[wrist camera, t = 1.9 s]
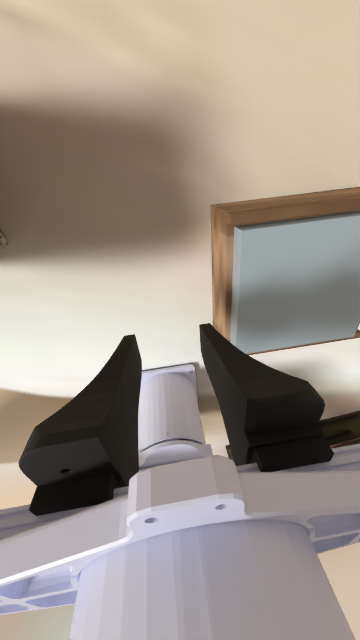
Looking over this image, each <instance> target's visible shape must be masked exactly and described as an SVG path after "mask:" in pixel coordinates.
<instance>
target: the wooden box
mask: <svg viewBox="0 0 360 640" xmlns="http://www.w3.org/2000/svg"><path fill="white" fill-rule="evenodd" d="M352 211H360V187H355V188H347V189H339V190H330V191H322V192H314V193H306V194H298V195H289V196H281V197H273V198H265V199H257V200H249V201H240V202H232V203H224V204H216V205H211V235H212V291H213V327H214V328H215V329H216V330H217V331H218V332H219V333H220V334H221V335H222V336H223V337H225V338H226V339H227V340H228V341H229V342H230V334H231V306H232V278H233V249H234V227H235V226H243V225H250V224H258V223H266V222H274V221H282V220H289V219H297V218H305V217H313V216H321V215H329V214H336V213H344V212H352ZM354 338H360V331H359V330H358V329H357V331H356V333H355V335H354V337H349V338H343V339H336V340H330V341H324V342H317V343H311V344H305V345H298V346H292V347H286V348H280V349H273V350H267V351H261V352H254V353H248V354H247V355H253V354H259V353H265V352H272V351H278V350H284V349H291V348H297V347H303V346H309V345H316V344H322V343H328V342H335V341H341V340H347V339H354Z"/></svg>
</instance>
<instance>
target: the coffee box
mask: <svg viewBox="0 0 360 640" xmlns="http://www.w3.org/2000/svg"><path fill="white" fill-rule="evenodd" d="M6 245H7V240H6V239H5V237H4V236H3V235H2V233H1V232H0V247H3V246H6Z"/></svg>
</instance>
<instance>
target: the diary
mask: <svg viewBox="0 0 360 640" xmlns="http://www.w3.org/2000/svg"><path fill="white" fill-rule="evenodd" d="M318 424H319V426H320V427H321V429H322V430H323V432H324V434H323V435H322V436H323V438H324V439H325V441H326V442H327V443H328V445H329V446H330V448H331V449H333V448H339V447H344V446H350V445H355V444H360V411H357V412H353V413H349V414H345V415H341V416H337V417H333V418H329V419H325V420H322V421H319V423H318ZM226 450H227V453H228V456H229V459H231V460H233V456H232V451H231V447H230V445H227V446H226ZM233 462H234V460H233Z"/></svg>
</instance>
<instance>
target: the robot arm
mask: <svg viewBox="0 0 360 640" xmlns="http://www.w3.org/2000/svg"><path fill="white" fill-rule="evenodd" d="M200 343H201V353H202V357H203V361H204V365H205V367H206V370H207V373H208V375H209V378H210V380H211V383H212V386H213V388H214V391H215V393H216V396H217V399H218V402H219V405H220V409H221V413H222V416H223V420H224V424H225V428H226V432H227V435H228V439H229V443H230V447H231V451H232V456H233V460H234V462H233V460H231V459H229V458H226V457H223V456H220V455H214V456H213V453H212V449H211V445H210V444H206V441H205V437H204V432H203V427H202V423H201V418H200V414H199V409H198V398H197V386H196V373H195V366H194V365H193V364H187V365H181V366H175V367H168V368H162V369H156V370H149V371H143V372H142V363H141V356H140V353H139V349H138V345H137V341H136V337H135V334H134V335H128V336H124V337H123V339H122V340H121V342H120V344H119V345H118V347H117V349H116V350H115V352H114V353H113V355H112V356H111V358H110V359H109V360H108V362H107V363H106V364H105V366H104V367H103V368H102V370H101V371H100V372H99V373H98V375H97V376H96V377H95V378H94V379H93V380H92V381H91V382H90V383H89V384H88V385H87V386H86V387H85V388H84V389H83V390H82V391H81V392H80V393H79V394H78V395H77V396H76V397H75V398H73V399H72V400H71V401H70V402H69V403H68V404H66V405H65V406H64V407H62V408H61V409H60V410H59V411H57V412H56V413H55V414H53V415H52V416H50V417H49V418H47V419H46V420H45V421H43V422H42V423H40V424H39V425H37V426H36V427H35V428H34V430H33V432H32V434H31V436H30V438H29V440H28V442H27V444H26V447H25V449H24V451H23V454H22V456H21V458H20V460H19V467H20V469H21V470H22V472H23V473H24V474H25V475H26V476H27V477H28V478H29V479H30V480H31V481H32V482H33V483H34V484H35V485H37V488H36V491H35V494H34V497H33V499H32V502H31V504H29V505H24V506H19V507H13V508H8V509H2V510H0V615H4V614H10V613H18V612H25V611H31V610H39V609H45V608H53V607H60V606H66V605H74V604H75V608H74V614H73V620H72V625H71V631H70V637H69V640H355V637H354V635H353V633H352V631H351V629H350V627H349V624H348V622H347V620H346V617H345V615H344V613H343V611H342V609H341V607H340V604H339V602H338V600H337V598H336V596H335V593H334V591H333V589H332V587H331V584H330V582H329V580H328V578H327V576H326V573H325V571H324V569H323V567H322V565H321V562H320V560H319V558H318V556H317V554H319V553H323V552H326V551H329V550H333V549H337V548H340V547H344V546H348V545H351V544H355V543H358V542H360V444H355V445H350V446H344V447H339V448H333V449H331V448H330V446H329V445H328V443H327V442H326V441H325V439H324V438H323V436H322V435H323V434H324V432H323V430H322V429H321V427H320V426H319V424H318V423H319V421H320V418H321V416H322V414H323V411H324V407H325V404H324V400H323V399H322V398H321V396H320V395H319V394H318V393H317V391H316V390H315V389H314V388H313V387H312V386H311V385H310V384H309V382H308V381H305V380H302V379H299V378H296V377H293V376H290V375H288V374H285V373H283V372H280V371H278V370H275V369H273V368H271V367H269V366H267V365H265V364H263V363H261V362H259V361H257V360H255V359H253V358H252V357H250V356H249V355H247V354H245V353H244V352H242V351H241V350H239V349H238V348H237V347H235V346H234V345H233V344H232V343H230V342H229V341H228V340H227V339H226V338H225V337H223V336H222V335H221V334H220V333H219V332H218V331H217V330H216V329H215V328H214V327H213V326H212V325H211V324H210V323H208V324H201V325H200ZM191 370H192V371H191Z"/></svg>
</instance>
